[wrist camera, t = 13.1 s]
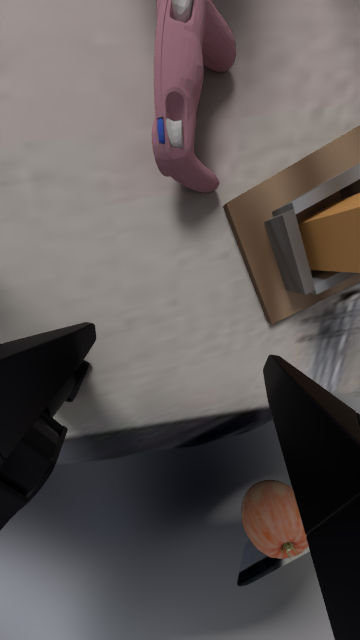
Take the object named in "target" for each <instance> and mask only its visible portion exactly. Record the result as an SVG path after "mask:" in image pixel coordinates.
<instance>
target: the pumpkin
mask: <svg viewBox="0 0 360 640" xmlns="http://www.w3.org/2000/svg"><path fill="white" fill-rule="evenodd" d="M241 509H242V510H241V513H242V522H243V526H244V529H245V531H246V533H247V535H248V537H249V538H250V540H251V541H252V543H253V544H254V545H255V546H256V548H257V549H258V550H259V551H261V552H262V553H264V554H265V555H267V556H269V557H272V558H280V559H285V558H290V557H291V556H296V555H298V554H300V553H302V552H303V551H304V549H306V548H307V547H308V542H307V539H306V536H307V535H306V534H305V531H304V527H303V524H302V520H301V517H300V513H299V510H298V506H297V503H296V499H295V495H294V492H293V488H291V487H290V486H288V485H286V484H284V483H282V482H279V481H275V480H264V481H261V482H258V483H256V484H254V485H253V486H252V487H251V488H250V489H249V490H248V491H247V492H246V494H245V496H244V498H243V502H242V508H241ZM290 560H291V559H290Z"/></svg>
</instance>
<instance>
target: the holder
mask: <svg viewBox="0 0 360 640" xmlns="http://www.w3.org/2000/svg"><path fill="white" fill-rule="evenodd" d="M358 193H360V126H358V127H356V128H355V129H353V130H351V131H349V132H348V133H346V134H344V135H343V136H341V137H339V138H337V139H336V140H334V141H332V142H331V143H329V144H327V145H325V146H324V147H322V148H320V149H319V150H317V151H315V152H313V153H312V154H310V155H308V156H307V157H305V158H303V159H301V160H300V161H298V162H296V163H295V164H293V165H291V166H289V167H288V168H286V169H284V170H283V171H281V172H279V173H277V174H276V175H274V176H272V177H271V178H269V179H267V180H265V181H264V182H262V183H260V184H259V185H257V186H255V187H253V188H252V189H250V190H248V191H247V192H245V193H243V194H241V195H240V196H238V197H236V198H235V199H233V200H231V201H229V202H228V203H226V204H225V205H224V206H223V207H224V210H225V212H226V215H227V217H228V220H229V223H230V225H231V228H232V231H233V233H234V236H235V238H236V241H237V244H238V246H239V249H240V251H241V254H242V257H243V259H244V262H245V264H246V267H247V270H248V272H249V275H250V277H251V280H252V283H253V285H254V288H255V290H256V293H257V296H258V298H259V301H260V303H261V306H262V309H263V311H264V314H265V316H266V319H267V322H269V323H270V324H274V323H276V322H278V321H280V320H282V319H284V318H286V317H288V316H290V315H293V314H295V313H297V312H299V311H301V310H303V309H305V308H307V307H309V306H311V305H313V304H315V303H317V302H319V301H321V300H323V299H325V298H327V297H329V296H331V295H333V294H335V293H337V292H339V291H341V290H343V289H345V288H347V287H349V286H351V285H353V284H355V283H357V282H359V281H360V273H352V272H336V271H321V270H310V268H309V264H308V260H307V256H306V252H305V249H304V245H303V241H302V237H301V233H300V230H299V226H298V221H300V220H302V219H304V218H305V217H307V216H309V215H311V214H313V213H314V212H316V211H318V210H320V209H322V208H324V207H325V206H327V205H329V204H331V203H333V202H336V201H339V200H341V199H344V198H347V197H350V196H353V195H355V194H358Z"/></svg>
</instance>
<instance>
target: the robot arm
mask: <svg viewBox="0 0 360 640" xmlns="http://www.w3.org/2000/svg"><path fill="white" fill-rule="evenodd" d="M95 341H96V331H95V325H94V324H93V323H88V322H84V323H81V324H77V325H73V326H69V327H65V328H61V329H57V330H53V331H49V332H45V333H41V334H38V335H34V336H30V337H26V338H22V339H18V340H14V341H10V342H6V343H3V344H0V530H1V529H2V528H3V527H4V525H5V524H6V523H7V522H8V521H9V520H10V518H12V517H13V516H14V515H15V514H16V513H17V512H18V510H20V509H21V508H23V507H24V506H25V505H26V504H27V503H28V502H29V501H30V500H31V499H32V498H33V497H34V496H35V495H36V493H37V492H38V491H39V490H40V489H41V487H42V486H43V485H44V483H45V482H46V481H47V479H48V477H49V476H50V474H51V473H52V471H53V469H54V467H55V464H56V462H57V459H58V456H59V453H60V450H61V447H62V445H63V442H64V439H65V436H66V433H67V430H68V429H67V428H66V427H65V426H62V425H61V424H59V423H58V422H57V421H56V420H55V419H53V416H54V415H55V414H56V412H57V411H58V410H59V408H60V407H61V406H62V404H63V403H64V402H65V401H67V402H72V401H73V400H74V399H75V397H76V394H77V392H78V390H79V388H80V386H81V384H82V381H83V379H84V377H85V375H86V373H87V371H88V369H89V366H90V364H89V363H88V362H86V361H84V358H85V357H86V355H87V353H88V352H89V350H90V349H91V347H92V346H93V344H94V342H95ZM84 365H86V367H85V366H84ZM263 374H264V380H265V386H266V392H267V398H268V403H269V407H270V410H271V414H272V417H273V421H274V424H275V428H276V431H277V435H278V438H279V442H280V445H281V449H282V452H283V456H284V460H285V463H286V467H287V471H288V474H289V478H290V481H291V485H292V488H293V492H294V495H295V499H296V503H297V506H298V510H299V513H300V517H301V520H302V524H303V527H304V531H305V534H306V535H307V536H306V539H307V542H308V546H309V549H310V553H311V556H312V560H313V564H314V567H315V571H316V574H317V578H318V581H319V585H320V588H321V592H322V595H323V599H324V602H325V606H326V610H327V613H328V617H329V620H330V624H331V627H332V631H333V635H334V638H335V640H360V414H359V413H356V412H355V411H354V410H353V409H352V408H350V407H349V406H347V405H346V404H345V403H343V402H342V401H340V400H339V399H338V398H336V397H335V396H334V395H332V394H331V393H330V392H328V391H327V390H325V389H324V388H323V387H321V386H320V385H319V384H317V383H316V382H314V381H313V380H312V379H310V378H309V377H307V376H306V375H305V374H303V373H302V372H301V371H299V370H298V369H296V368H295V367H294V366H292V365H291V364H289V363H288V362H287V361H285V360H284V359H283V358H281V357H280V356H277V355H269V356H268V359H267V361H266V363H265V366H264V368H263Z"/></svg>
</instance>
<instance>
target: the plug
mask: <svg viewBox="0 0 360 640" xmlns="http://www.w3.org/2000/svg"><path fill="white" fill-rule="evenodd" d="M298 226H299V230H300V233H301V237H302V241H303V245H304V249H305V252H306V256H307V260H308V264H309V268H310V270H321V271H336V272H352V273H360V193H358V194H355V195H353V196H350V197H347V198H344V199H341V200H339V201H336V202H333V203H331V204H329V205H327V206H325V207H324V208H322V209H320V210H318V211H316V212H314V213H313V214H311V215H309V216H307V217H305V218H304V219H302V220H300V221H298Z"/></svg>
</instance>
